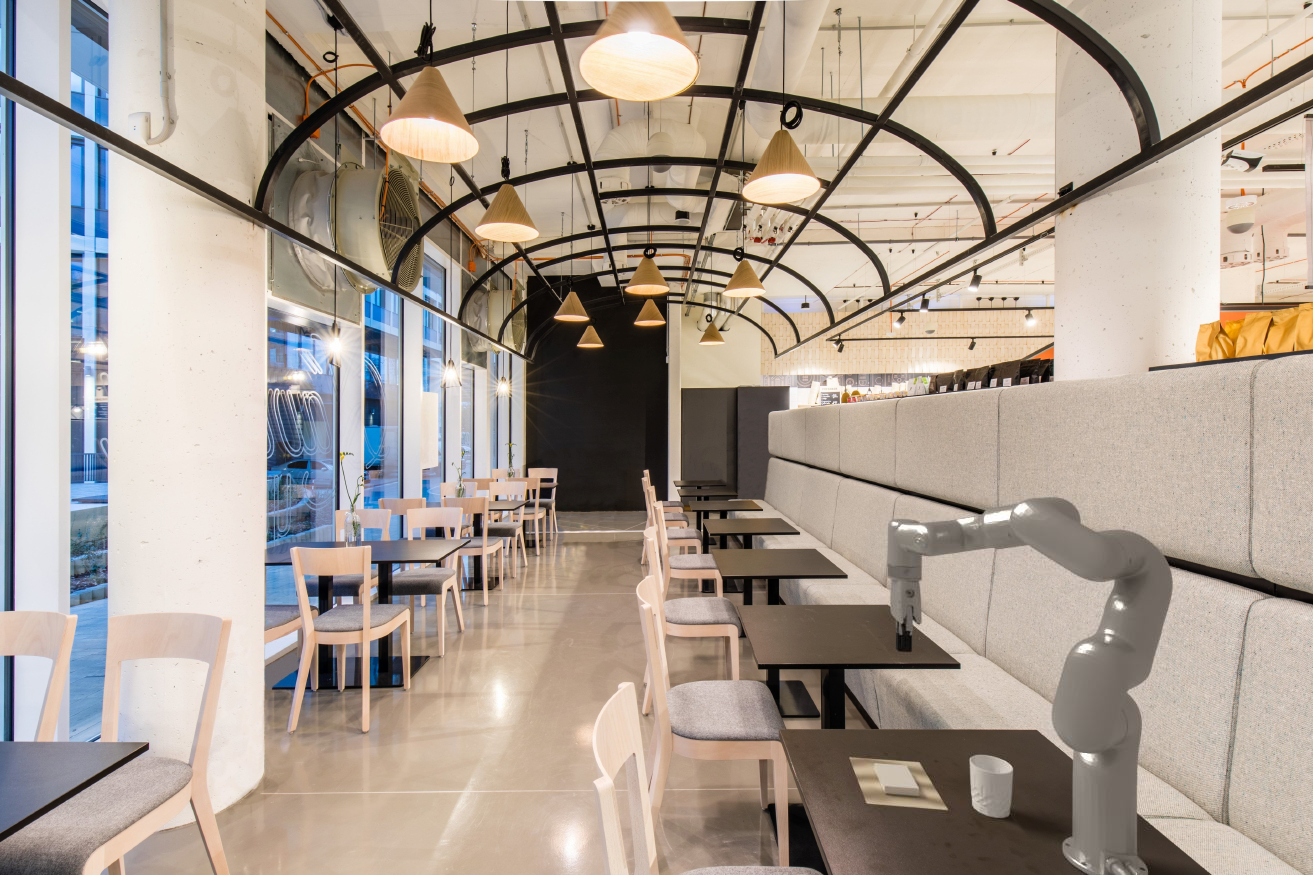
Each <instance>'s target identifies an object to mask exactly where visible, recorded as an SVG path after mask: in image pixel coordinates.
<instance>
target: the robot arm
mask: <svg viewBox="0 0 1313 875" xmlns="http://www.w3.org/2000/svg"><path fill="white" fill-rule="evenodd" d="M1024 546H1029V547H1030V548H1032V549H1034V550H1035V551H1037V552H1038V553H1039V554H1041V555H1043V556H1044V557H1046V558H1048V559H1050V560H1051V561H1052V562H1054V563H1056V564H1058V565H1059V566H1060V567H1063V568H1064V569H1066V570H1067V571H1069V572H1071V573H1072V574H1074V575H1075V576H1078V577H1080V578H1082V579H1084V580H1087V581H1090V582H1094V583H1095V582H1096V583H1105V582H1110V581H1113V582H1114V584H1113V587H1112V589H1111V592H1110V593H1109V595H1108V597H1107V600H1106V602H1105V604H1104V605H1105V606H1104V609H1103V614H1102V617H1101V620H1100V622H1099V626H1098V628H1097V629H1096V632H1095V633H1094V634H1093V635H1092V636H1088V637H1086V638H1084V639H1081V640H1079V641H1078V642H1077V643H1076V644H1075V645H1074V646H1073V647H1072V648H1071V649H1070V651H1069V652H1068V654H1067V656H1066V659H1065V662H1064V664H1063V667H1062V672H1061V675H1060V678H1059V682H1058V685H1057V689H1056V692H1055V694H1054V700H1053V703H1052V706H1051V707H1052V708H1051V721H1052V726H1053V729H1054V731H1055V733H1056V735H1057V736H1058V738H1059V739H1060V740H1061V741H1062V743H1064V744H1065V746H1067V747H1069V748H1070V749H1072V750H1073V753H1072V754H1073V755H1072V836H1070V837H1067V838H1066V839H1064V840H1063V842H1062V853H1063V855H1064V858H1066V859H1067V861H1068V862H1069V863H1070V864H1071V865H1073V866H1074V867H1075V868H1077V869H1078V870H1080V872H1081V871H1082V872H1083V873H1085V874H1087V875H1149V871H1148V866H1147V865H1146V864H1145V862H1144V861H1143V860H1142V859H1141V858H1140V857H1139V856H1138V765H1139V751H1140V745H1141V744H1140V743H1141V736H1142V730H1143V727H1142V726H1143V721H1142V714H1141V711H1140V708H1139V706H1138V704H1137V702H1136V701H1135V699H1134V698H1133V697H1132V696H1131V695H1130V694H1129V693H1128V692H1129V691H1130V690H1132V689H1134V688H1136V687H1138V686H1140V685H1142V684H1143V683H1144V682H1145V681H1146V680H1148V678H1149V676H1150V674H1151V671H1152V668H1153V664H1154V659H1155V656H1156V652H1157V650H1158V646H1159V642H1160V639H1161V637H1162V634H1163V628H1164V624H1165V620H1166V617H1167V613H1168V611H1169V608H1170V604H1171V599H1172V596H1173V589H1174V588H1173V587H1174V586H1173V585H1174V584H1173V583H1174V582H1173V581H1174V580H1173V574H1172V569H1171V567H1170V565H1169V563H1168V561H1167V559H1166V557H1165V556H1164V554H1163V553H1162V552H1161V551H1160V549H1159V548H1158V547H1157V546H1156V545H1155V544H1154V543H1153V542H1151V541H1150V540H1148V539H1147V538H1145V537H1144V536H1143V535H1140V534H1139V533H1136V532H1134V531H1131V530H1126V529H1125V530H1124V529H1108V530H1101V531H1095V530H1094V529H1091V528H1090V527H1088V526H1086V525H1084V524H1082V523H1081V515H1080V512H1079V510H1078V508H1077V507H1076V506H1075V504H1073V503H1072V502H1071V501H1069V500H1067V499H1064V498H1062V497H1057V496H1049V497H1047V496H1046V497H1033V498H1026V499H1024V500H1022V501H1020V502H1018V503H1017V502H1016V503H1012V504H1007V505H1002V506H995V507H991V508H988V509H985V510H984V511H983V513H982V514H977V515H973V516H969V517H962V518H957V519H950V520H939V521H937V520H936V521H929V522H920V521H918V520H915V519H912V518H911V519H910V518H909V519H908V518H894V519H891V520H890V521H889V522H888V524H887V572H886V573H887V579H890V580H891V581H890V596H889V599H890V600H889V604H890V605H889V606H890V607H889V608H890V614H891V615H892V616H893V618H894V619H895V631H896V632H895V649H896V651H897V652H903V653H912V651H913V647H912V646H913V631H914V623H916V625H918V626H919V625H921V624H922V623H923V620H922V619H923V618H922V598H921V595H922V594H921V586H920V581H922V580H923V579H922V578H923V576H922V575H923V574H922V572H923V570H922V569H923V556H924V557H936V556H937V557H938V556H942V555H943V556H944V555H950V554H952V555H953V554H958V553H959V554H960V553H964V552H966V553H967V552H971V551H979V550H985V549H987V550H988V549H995V550H1003V549H1012V548H1017V547H1018V548H1019V547H1024Z"/></svg>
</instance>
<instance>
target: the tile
mask: <svg viewBox="0 0 1313 875" xmlns="http://www.w3.org/2000/svg"><path fill="white" fill-rule="evenodd" d="M874 770H875V773H876V775H877V777H878V779H879V782H880V784H881V786H882V788H883V791H884V793H885V794H890V795H902V796H915V797H918V796H919V787H918V786H917V784H916V782H915V780H914V778H913V777H912V775H911V773H910V771H909V769H908V768H907V766H906V765H893V764H880V763H874Z"/></svg>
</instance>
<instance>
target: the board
mask: <svg viewBox="0 0 1313 875" xmlns="http://www.w3.org/2000/svg"><path fill="white" fill-rule="evenodd" d="M849 762H850V764H851V766H852V768H853V771H854V773H855V776H856V779H857V782H858V784H859V786H860V790H861V792H862V794H863V798H864V801H865V803H866V804H868V805H880V806H893V807H904V808H905V807H906V808H917V809H929V810H930V809H931V810H942V811H949V809H948V807H947V806H946V804H945V802H944V801H943V799H942V798H941V796H940V794H939V792H938V791H937V790H936V787H935V786H934V784H933V783H932V781H931V779H930V778H929V776H928V775H927V773H926V770H924V768H923V766H922V764H921V763H920V762H919V761H909V760H908V761H907V760H906V761H904V760H895V759H893V760H892V759H876V758H863V757H850V756H849ZM874 763H880V764H893V765H906V766H907V768H908V769H909V771H910V773H911V775H912V777H913V778H914V780H915V782H916V784H917V786H918V787H919V796H918V797H915V796H902V795H890V794H885V793H884V791H883V788H882V786H881V784H880V782H879V779H878V777H877V775H876V773H875V770H874Z"/></svg>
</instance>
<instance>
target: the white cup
mask: <svg viewBox="0 0 1313 875" xmlns="http://www.w3.org/2000/svg"><path fill="white" fill-rule="evenodd" d="M1013 776H1014V768H1013V766H1012V765H1011V764H1010V763H1009V762H1007V761H1006V760H1004V759H1001V758H999V757H997V756H993V755H987V754H975V755H973V756H971V757H970V758H969V778H970V780H969V781H970V793H971V805H972V807H973V809H975V810H976V811H977V812H978V813H980V814H982V815H984V816H987V817H991V818H996V819H997V818H998V819H999V818H1000V819H1004V818H1007V817H1009V815H1010V814H1011V804H1012V796H1013V778H1014V777H1013Z"/></svg>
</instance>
